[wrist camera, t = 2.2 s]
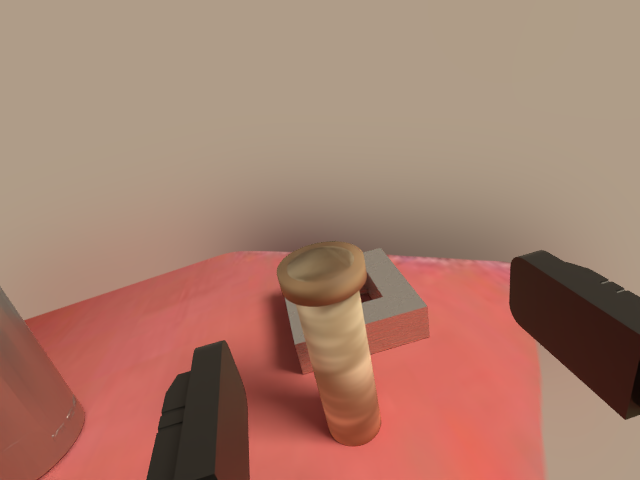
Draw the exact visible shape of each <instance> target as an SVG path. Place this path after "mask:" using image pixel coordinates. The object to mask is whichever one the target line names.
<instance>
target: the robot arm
mask: <svg viewBox="0 0 640 480" xmlns="http://www.w3.org/2000/svg"><path fill="white" fill-rule="evenodd" d="M509 305H510V310H511V313H512V315H513V317H514V319H515V320H516V322H517V323H518V324H519V325H520V326H521V327H522V328H523V329H524V330H525V331H526V332H528V333H529V334H530V335H531V336H532V337H533V338H534V339H535V340H537V341H538V342H539V343H540V344H541V345H542V346H544V348H545V349H547V350H548V351H549V352H550V353H551V354H552V355H553V356H554V357H556V358H557V359H558V360H559V361H560V362H561V363H562V364H563V365H565V366H566V367H567V368H568V369H569V370H570V371H571V372H572V373H574V375H576V376H577V377H578V378H579V379H580V380H582V381H583V382H584V383H585V384H586V385H587V386H588V387H589V388H590V389H591V390H592V391H593V392H595V393H596V394H597V395H598V396H599V397H600V398H601V399H602V400H604V401H605V402H606V403H607V404H608V405H609V406H610V407H611V408H612V409H614V410H615V411H616V412H617V413H618V414H619V415H620V416H622V417H623V418H624V419H625V420H626V419H629V418H632V417H635V416H637V415H640V297H639V296H637V295H635V294H633V293H632V292H630V291H625V290H624V288H623V287H621V286H619V285H617V284H615V283H614V282H609V281H608V279H606V278H605V277H603V276H601V275H599V274H598V273H596V272H594V271H592V270H590V269H588V268H584V267H581V266H578V265H575V264H571V263H568V262H564V261H562V260H560V259H559V258H557V257H555V256H553V255H552V254H550V253H548V252H546V251H542V250H540V251H536V252H533V253H529V254H526V255H523V256H519V257H515V258H514V259H513V260H512V262H511V267H510V299H509ZM161 413H162V416H161V417H160V421H159V426H158V433H157V435H156V439H155V444H154V448H153V452H152V457H151V461H150V466H149V470H148V475H147V479H146V480H250V475H249V441H248V407H247V399H246V393H245V389H244V385H243V382H242V380H241V377H240V375H239V372H238V370H237V367H236V364H235V362H234V359H233V357H232V354H231V352H230V349H229V347H228V344H227V343H226V341H225V340H223V341H219V342H216V343H212V344H209V345H205V346H202V347H198V348H196V349H195V350H194V354H193V360H192V366H191V371H189V372H186V373H182V374H179V375H177V377H176V378H175V380H174V381H173V383H172V385H171V386H170V388H169V389H168V391H167V392H166V395H165V399H164V403H163V408H162V412H161ZM84 420H85V412H84V410H83V407H82V405H81V404H80V403H79V401H78V400H77V398H76V397H75V395H74V394H73V392H72V391H71V389H70V388H69V386H68V385H67V383H66V382H65V381H64V379H63V377H62V376H61V374H60V373H59V371H58V370H57V368H56V367H55V366H54V364H53V363H52V361H51V360H50V358H49V357H48V355H47V354H46V352H45V351H44V349H43V348H42V347H41V345H40V344H39V342H38V341H37V339H36V338H35V336H34V335H33V333H32V332H31V331H30V329H29V328H28V326H27V325H26V323H25V322H24V320H23V319H22V317H21V316H20V315H19V313H18V312H17V310H16V309H15V307H14V306H13V304H12V303H11V301H10V300H9V298H8V297H7V296H6V294H5V293H4V291H3V290H2V288H1V287H0V480H37V479H38V478H40V477H41V476H42V475H44V474H45V473H46V472H47V471H48V470H50V469H51V468H52V467H53V466H54V465H55V464H56V463H57V462H58V461H59V460H60V459H61V458H62V457H63V456H64V455H65V454H66V453H67V452H68V450H69V449H70V448H71V446H72V445H73V443H74V442H75V441H76V439H77V437H78V435H79V434H80V432H81V430H82V427H83V424H84Z"/></svg>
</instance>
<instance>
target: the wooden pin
mask: <svg viewBox="0 0 640 480" xmlns="http://www.w3.org/2000/svg"><path fill="white" fill-rule="evenodd" d="M277 276H278V280H279V284H280V287H281V291H282V294H283V296H284V297H285V298H286V299H287V300H288V301H290V302H292V303H294V304H296V307H297V311H298V315H299V319H300V323H301V326H302V330H303V334H304V338H305V341H306V345H307V349H308V353H309V356H310V360H311V364H312V368H313V371H314V375H315V379H316V383H317V386H318V390H319V394H320V398H321V401H322V405H323V409H324V413H325V416H326V420H327V424H328V428H329V431H330V433H331V435H332V436H333V438H334V439H335V440H336V441H338V442H339V443H341V444H343V445H347V446H360V445H363V444H366V443H368V442H369V441H371V440H372V439H373V438H374V437H375V436H376V435H377V433H378V432H379V429H380V426H381V416H380V410H379V404H378V398H377V392H376V386H375V380H374V374H373V368H372V363H371V357H370V351H369V345H368V339H367V333H366V327H365V321H364V315H363V309H362V304H361V298H360V292H359V290H360V289H361V288H362V287H363V285H364V284H365V282H366V279H367V272H366V266H365V259H364V254H363V252H362V251H361V250H360V249H359V248H358V247H356V246H355V245H352V244H349V243H345V242H335V241H332V242H321V243H315V244H311V245H308V246H305V247H302V248H300V249H298V250H296V251H294V252H292V253H291V254H289V255H288V256H286V257H285V258H284V259H283V260H282V261H281V262H280V264H279V266H278V268H277Z"/></svg>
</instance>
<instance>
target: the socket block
mask: <svg viewBox="0 0 640 480" xmlns="http://www.w3.org/2000/svg"><path fill="white" fill-rule="evenodd" d="M363 254H364V259H365V266H366V272H367V279H366V282H365V284H364V285H363V287H362V288H361V289H360V290H359V292H360V295H363V294H367V293H368V294H369V296H370V298H371V299H372V300H370V301H367V302H363V303H361V304H362V309H363V315H364V321H365V327H366V333H367V339H368V345H369V351H370V354H374V353H377V352H380V351H384V350H387V349H390V348H394V347H397V346H400V345H404V344H407V343H411V342H414V341H417V340H421V339H424V338H427V337H430V336H429V322H428V308H427V305H426V304H425V303H424V302H423V300H422V299H421V298H420V297H419V295H418V294H417V293H416V292H415V290H414V289H413V288H412V287H411V285H410V284H409V283H408V282H407V280H406V279H405V278H404V277H403V275H402V274H401V273H400V272H399V270H398V269H397V268H396V267H395V265H394V264H393V263H392V262H391V260H390V259H389V258H388V257H387V255H386V254H385V253H384V252H383V251H382V249H381V248H378V249H375V250H371V251H367V252H363ZM285 301H286V306H287V311H288V316H289V320H290V325H291V330H292V334H293V339H294V344H295V348H296V351H297V355H298V358H299V362H300V365H301V369H302V372H303V374H306V373H310V372H313V368H312V364H311V360H310V356H309V353H308V349H307V345H306V341H305V338H304V334H303V330H302V326H301V323H300V319H299V315H298V311H297V307H296V304H294V303H292V302H290V301H288V300H287V299H286V298H285Z"/></svg>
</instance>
